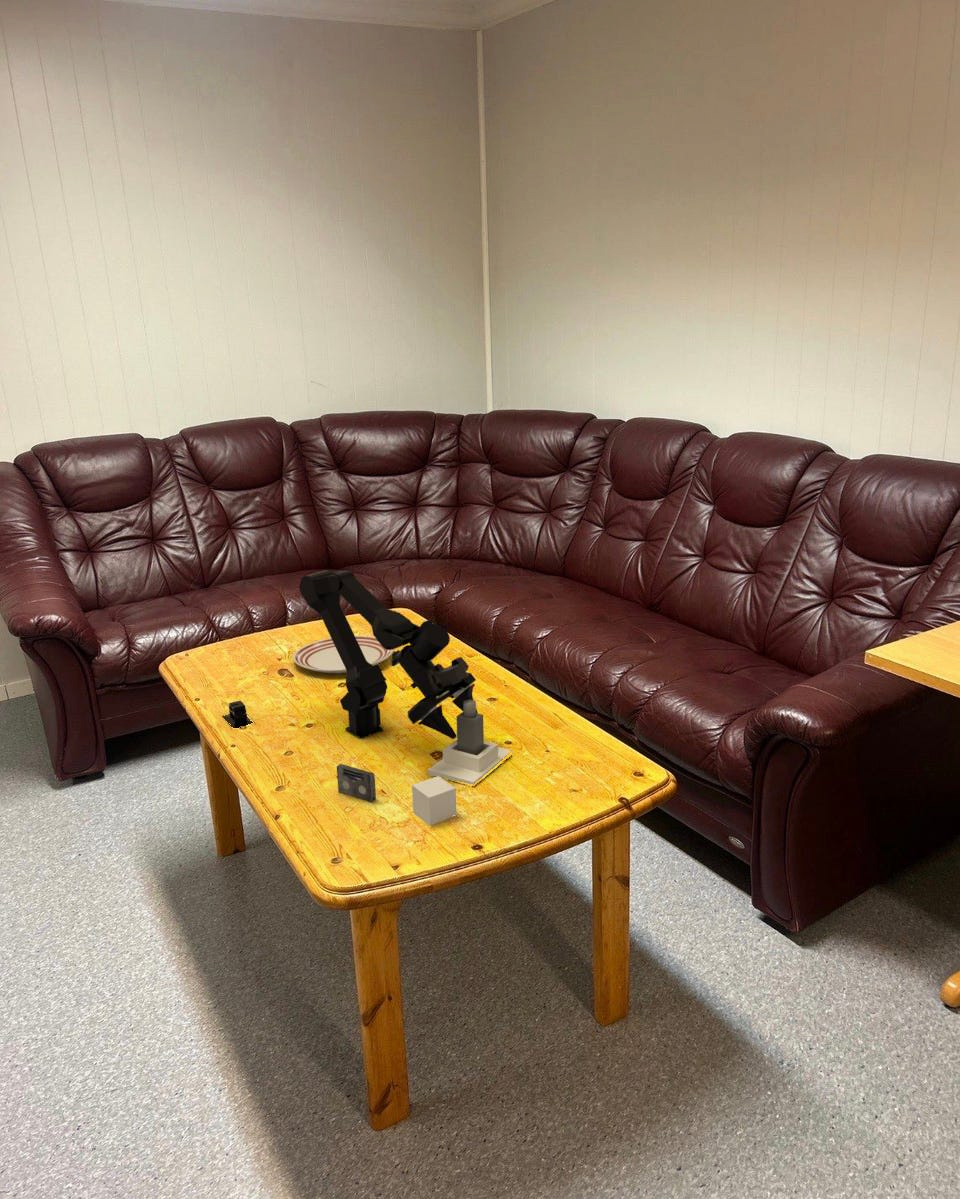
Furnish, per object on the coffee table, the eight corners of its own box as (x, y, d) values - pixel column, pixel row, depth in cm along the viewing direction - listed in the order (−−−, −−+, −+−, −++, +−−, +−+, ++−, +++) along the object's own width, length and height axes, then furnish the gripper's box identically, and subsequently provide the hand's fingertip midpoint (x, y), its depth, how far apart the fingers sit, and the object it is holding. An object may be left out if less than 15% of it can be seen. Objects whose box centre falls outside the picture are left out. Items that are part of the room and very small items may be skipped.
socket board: (428, 774, 192) (427, 756, 191) (468, 744, 205) (468, 727, 204) (473, 787, 186) (472, 768, 185) (512, 755, 200) (512, 737, 198)
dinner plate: (275, 675, 247) (274, 664, 246) (320, 641, 272) (319, 631, 271) (371, 685, 239) (370, 672, 238) (408, 649, 264) (408, 637, 263)
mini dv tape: (376, 799, 183) (374, 772, 181) (371, 802, 182) (369, 775, 180) (343, 789, 187) (341, 762, 185) (338, 792, 186) (336, 765, 184)
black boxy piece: (216, 716, 223) (214, 698, 222) (246, 709, 227) (244, 692, 226) (231, 735, 213) (229, 716, 212) (262, 727, 217) (260, 709, 215)
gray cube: (439, 803, 181) (438, 775, 179) (456, 816, 176) (455, 788, 175) (413, 813, 178) (411, 785, 176) (430, 826, 173) (429, 797, 171)
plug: (457, 759, 195) (456, 702, 191) (466, 753, 198) (464, 697, 194) (475, 764, 193) (474, 707, 189) (484, 758, 196) (482, 701, 192)
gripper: (417, 664, 184) (466, 727, 182) (467, 636, 199) (512, 694, 197) (387, 693, 190) (433, 754, 188) (437, 664, 205) (481, 720, 203)
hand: (467, 729), depth 194 cm, fingers open, 9 cm apart
